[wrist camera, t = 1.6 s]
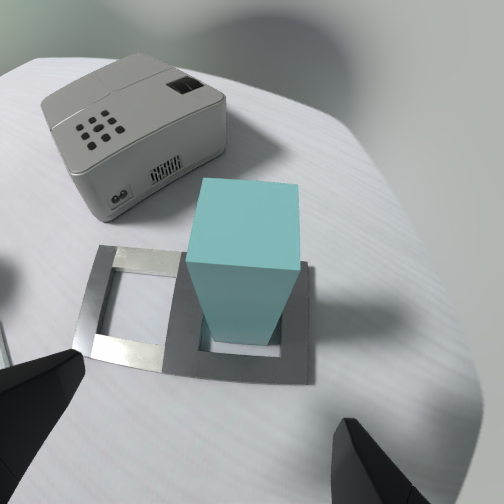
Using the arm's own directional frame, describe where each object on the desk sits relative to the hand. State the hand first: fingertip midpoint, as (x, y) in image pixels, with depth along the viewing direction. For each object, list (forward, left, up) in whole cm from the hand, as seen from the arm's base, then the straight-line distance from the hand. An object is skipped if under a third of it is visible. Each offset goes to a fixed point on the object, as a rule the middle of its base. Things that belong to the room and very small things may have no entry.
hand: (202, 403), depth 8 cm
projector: (+31, +1, -13) cm, 34 cm away
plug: (+5, -4, -12) cm, 14 cm away
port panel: (+7, 0, -12) cm, 15 cm away
